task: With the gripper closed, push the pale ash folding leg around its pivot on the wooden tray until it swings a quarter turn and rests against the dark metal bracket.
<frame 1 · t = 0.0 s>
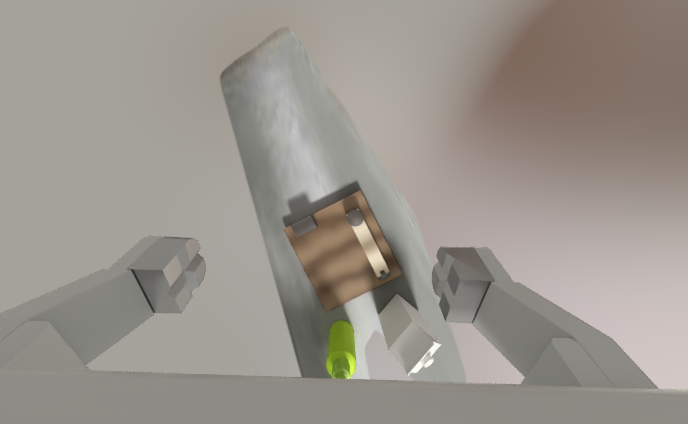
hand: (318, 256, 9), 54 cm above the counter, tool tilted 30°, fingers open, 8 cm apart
wooden tray: (343, 249, 64), on the counter
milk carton: (398, 312, 65), on the counter
soap dispenser: (339, 332, 65), on the counter
folding leg: (368, 243, 59), point 4 cm above the counter, hinge at 0.0°
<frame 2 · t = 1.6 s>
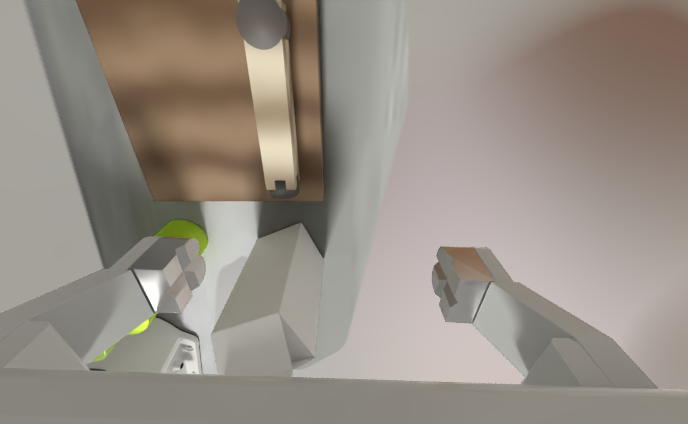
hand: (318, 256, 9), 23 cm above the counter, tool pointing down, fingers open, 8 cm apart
wooden tray: (227, 98, 28), on the counter
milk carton: (291, 248, 38), on the counter
soap dispenser: (183, 236, 37), on the counter
folding leg: (275, 110, 25), point 4 cm above the counter, hinge at 0.0°
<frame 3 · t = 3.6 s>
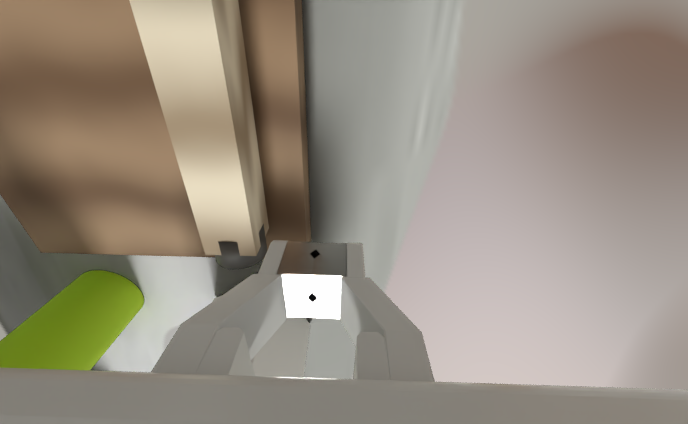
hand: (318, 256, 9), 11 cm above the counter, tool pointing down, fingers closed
wooden tray: (145, 93, 17), on the counter
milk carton: (265, 308, 27), on the counter
soap dispenser: (108, 291, 26), on the counter
folding leg: (214, 120, 13), point 4 cm above the counter, hinge at 0.0°
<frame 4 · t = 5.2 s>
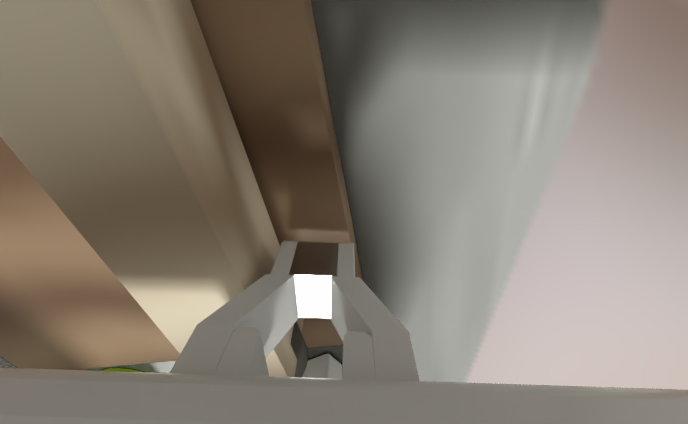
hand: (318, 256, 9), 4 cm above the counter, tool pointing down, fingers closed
wooden tray: (92, 148, 11), on the counter
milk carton: (318, 384, 21), on the counter
folding leg: (172, 184, 7), point 4 cm above the counter, hinge at 0.5°, touching gripper
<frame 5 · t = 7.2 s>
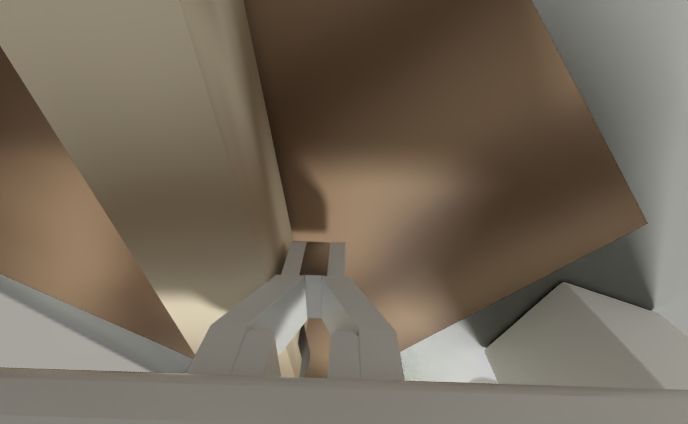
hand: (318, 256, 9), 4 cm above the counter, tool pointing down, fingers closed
wooden tray: (255, 178, 12), on the counter
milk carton: (560, 327, 17), on the counter
folding leg: (204, 180, 7), point 4 cm above the counter, hinge at 42.0°, touching gripper
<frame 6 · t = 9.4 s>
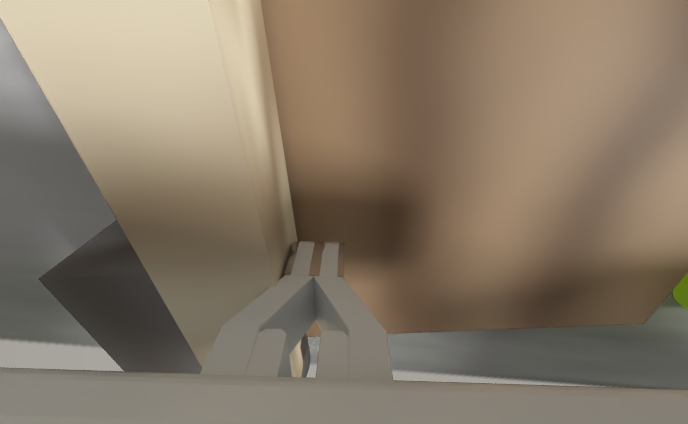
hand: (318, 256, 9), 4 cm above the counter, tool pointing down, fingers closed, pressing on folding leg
wooden tray: (419, 109, 10), on the counter
folding leg: (214, 183, 7), point 4 cm above the counter, hinge at 91.8°, touching gripper, wooden tray
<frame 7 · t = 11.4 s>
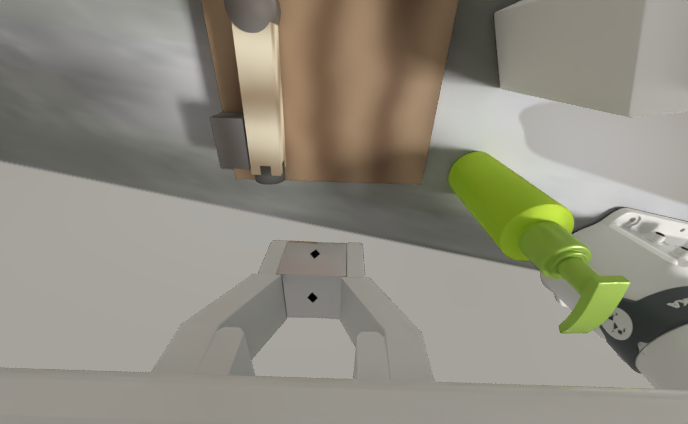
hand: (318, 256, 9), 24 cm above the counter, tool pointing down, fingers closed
wooden tray: (330, 86, 28), on the counter
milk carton: (532, 38, 26), on the counter
soap dispenser: (470, 177, 34), on the counter
folding leg: (262, 95, 25), point 4 cm above the counter, hinge at 91.3°
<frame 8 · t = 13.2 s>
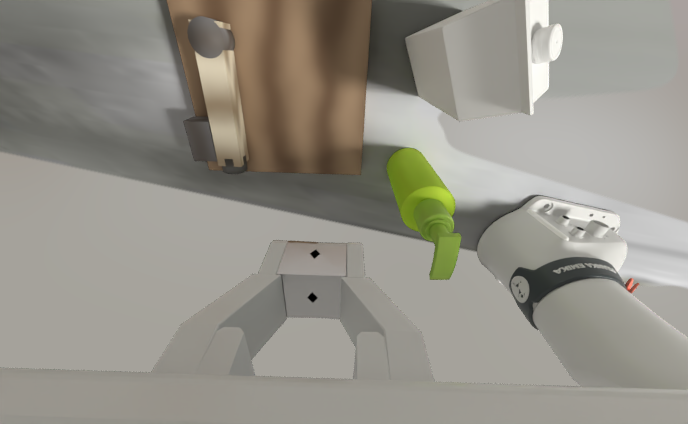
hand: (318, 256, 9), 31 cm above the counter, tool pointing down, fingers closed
wooden tray: (282, 95, 35), on the counter
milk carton: (439, 56, 33), on the counter
soap dispenser: (405, 169, 41), on the counter
folding leg: (224, 104, 32), point 4 cm above the counter, hinge at 91.3°
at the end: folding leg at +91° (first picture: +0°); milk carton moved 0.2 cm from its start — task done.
